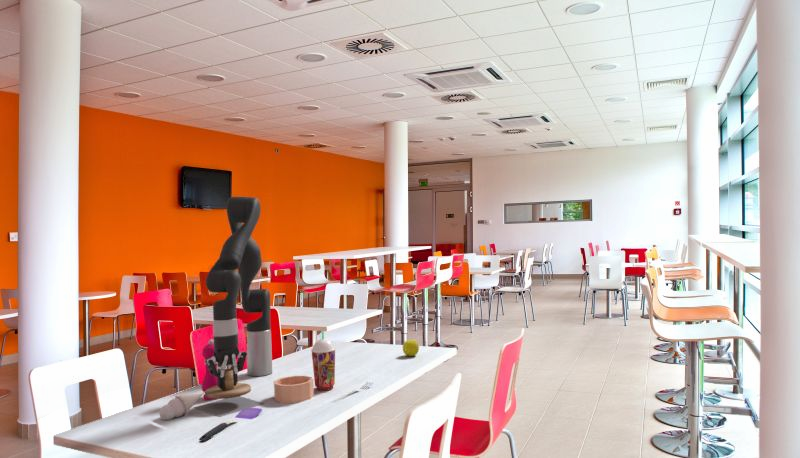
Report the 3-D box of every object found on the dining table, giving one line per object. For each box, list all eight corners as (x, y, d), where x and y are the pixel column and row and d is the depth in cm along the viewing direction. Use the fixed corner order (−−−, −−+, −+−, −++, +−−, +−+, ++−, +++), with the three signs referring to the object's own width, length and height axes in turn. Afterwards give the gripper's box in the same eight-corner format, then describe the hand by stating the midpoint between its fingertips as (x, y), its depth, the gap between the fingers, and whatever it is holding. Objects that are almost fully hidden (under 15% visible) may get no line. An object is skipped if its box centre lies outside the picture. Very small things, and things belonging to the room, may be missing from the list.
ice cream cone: (208, 404, 180) (165, 429, 169) (197, 391, 182) (153, 415, 171) (212, 392, 177) (167, 417, 165) (200, 379, 179) (156, 402, 168)
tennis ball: (402, 354, 249) (401, 338, 249) (417, 353, 250) (417, 337, 250) (403, 358, 242) (403, 341, 242) (420, 357, 243) (419, 340, 243)
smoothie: (332, 392, 194) (330, 333, 194) (309, 391, 195) (307, 333, 195) (340, 385, 202) (337, 329, 202) (317, 385, 203) (315, 329, 204)
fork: (322, 405, 180) (321, 400, 180) (367, 386, 200) (366, 381, 201) (329, 406, 178) (329, 401, 178) (374, 387, 199) (374, 382, 199)
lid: (196, 393, 181) (195, 371, 181) (235, 383, 191) (234, 362, 191) (220, 401, 171) (219, 378, 171) (259, 390, 182) (258, 368, 182)
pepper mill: (229, 396, 193) (226, 337, 193) (215, 402, 186) (213, 341, 187) (211, 395, 196) (209, 337, 196) (197, 401, 189) (195, 341, 189)
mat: (192, 409, 180) (192, 407, 180) (237, 397, 192) (237, 395, 192) (219, 418, 169) (219, 416, 169) (265, 405, 181) (264, 403, 181)
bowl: (267, 400, 187) (266, 382, 187) (297, 391, 196) (297, 374, 196) (290, 406, 179) (289, 387, 179) (321, 397, 188) (320, 379, 188)
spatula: (210, 445, 149) (209, 435, 149) (189, 442, 151) (189, 433, 151) (264, 416, 171) (263, 408, 171) (245, 414, 174) (245, 406, 174)
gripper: (238, 328, 189) (240, 380, 189) (198, 335, 178) (201, 390, 178) (251, 330, 184) (253, 383, 184) (211, 338, 173) (213, 394, 173)
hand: (227, 386), depth 181 cm, fingers closed on lid, 3 cm apart
